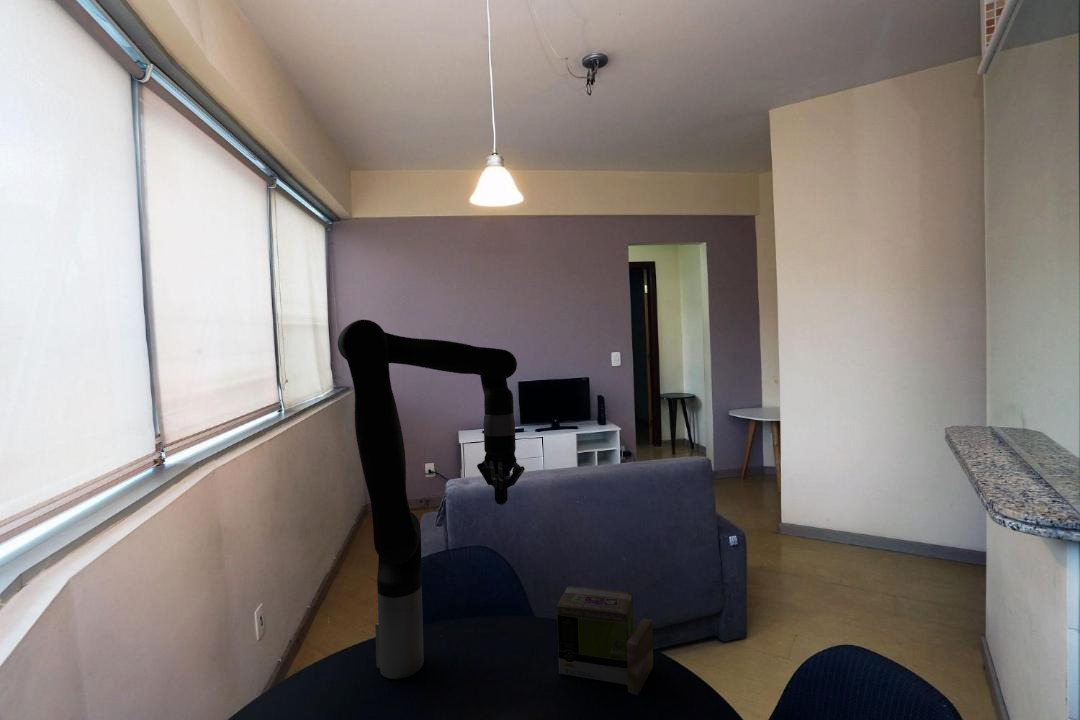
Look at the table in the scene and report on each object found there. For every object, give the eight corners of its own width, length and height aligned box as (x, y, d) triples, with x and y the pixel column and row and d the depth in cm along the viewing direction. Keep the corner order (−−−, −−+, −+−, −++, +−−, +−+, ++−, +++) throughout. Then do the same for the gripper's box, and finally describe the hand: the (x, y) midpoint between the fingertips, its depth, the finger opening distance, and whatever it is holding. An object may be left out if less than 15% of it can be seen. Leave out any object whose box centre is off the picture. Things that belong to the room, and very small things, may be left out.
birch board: (627, 692, 99) (626, 642, 98) (644, 664, 107) (643, 618, 107) (637, 695, 98) (636, 644, 97) (653, 666, 106) (652, 620, 106)
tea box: (635, 658, 110) (634, 591, 109) (630, 688, 100) (628, 614, 100) (569, 647, 114) (567, 583, 114) (557, 675, 104) (555, 605, 104)
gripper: (468, 432, 121) (470, 504, 121) (514, 436, 114) (516, 511, 114) (486, 428, 127) (488, 496, 128) (531, 431, 121) (532, 502, 121)
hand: (501, 503), depth 121 cm, fingers closed
